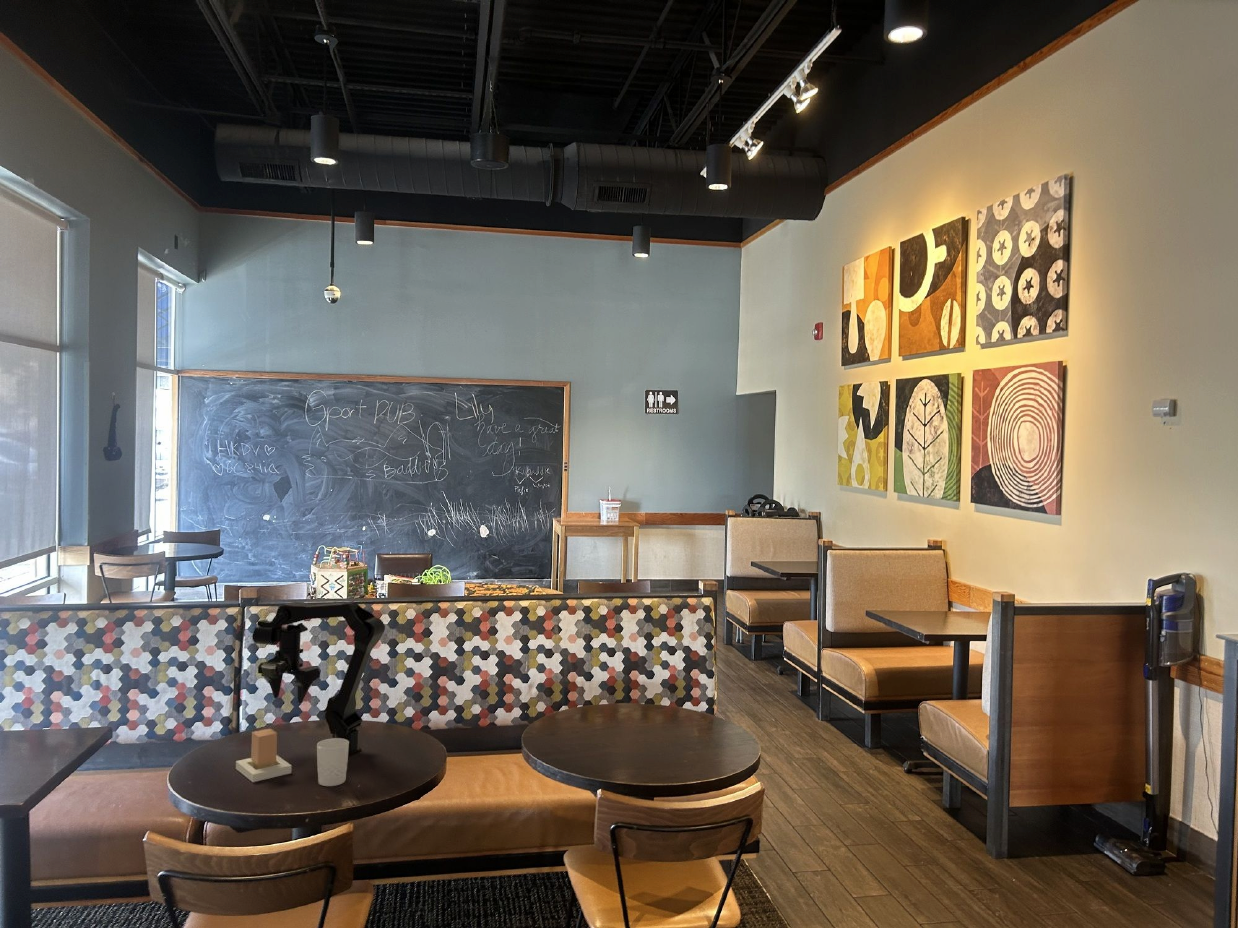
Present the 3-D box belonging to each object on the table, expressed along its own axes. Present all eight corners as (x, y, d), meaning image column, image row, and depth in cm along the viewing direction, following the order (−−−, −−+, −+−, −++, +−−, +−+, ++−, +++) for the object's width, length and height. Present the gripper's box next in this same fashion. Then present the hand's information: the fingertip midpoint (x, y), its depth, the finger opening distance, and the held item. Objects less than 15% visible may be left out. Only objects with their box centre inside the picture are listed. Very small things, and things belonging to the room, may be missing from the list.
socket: (273, 759, 233) (273, 752, 233) (291, 772, 224) (291, 765, 224) (235, 768, 226) (236, 761, 226) (252, 782, 217) (252, 774, 217)
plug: (269, 765, 229) (270, 728, 228) (276, 770, 225) (277, 732, 225) (250, 769, 225) (251, 731, 225) (257, 774, 222) (258, 736, 222)
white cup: (320, 775, 223) (321, 737, 223) (351, 775, 224) (352, 737, 224) (312, 787, 215) (313, 748, 215) (343, 787, 216) (344, 748, 216)
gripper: (243, 647, 241) (241, 702, 241) (292, 656, 233) (291, 712, 233) (274, 640, 251) (272, 692, 251) (322, 648, 243) (320, 702, 244)
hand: (288, 700), depth 245 cm, fingers open, 9 cm apart
